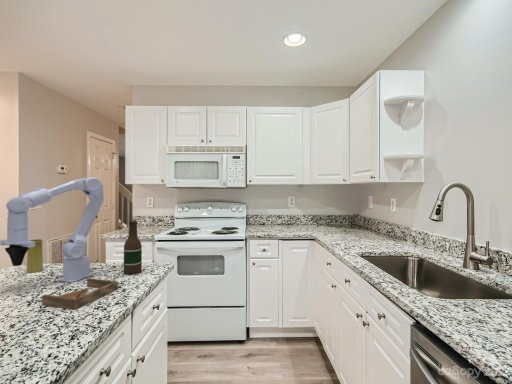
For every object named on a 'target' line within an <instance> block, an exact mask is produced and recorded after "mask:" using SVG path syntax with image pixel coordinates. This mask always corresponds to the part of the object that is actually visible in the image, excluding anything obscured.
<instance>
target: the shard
mask: <svg viewBox="0 0 512 384" xmlns="http://www.w3.org/2000/svg"><path fill="white" fill-rule="evenodd" d="M89 288H90V287H87V288H84V289H80V290H75V291H72V292H68V293H65V294H61V295H58V296H59V297H67V298H74V299H76V298H78V297H81V296H83V295H85V294H88V293H89V292H88V291H89Z"/></svg>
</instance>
